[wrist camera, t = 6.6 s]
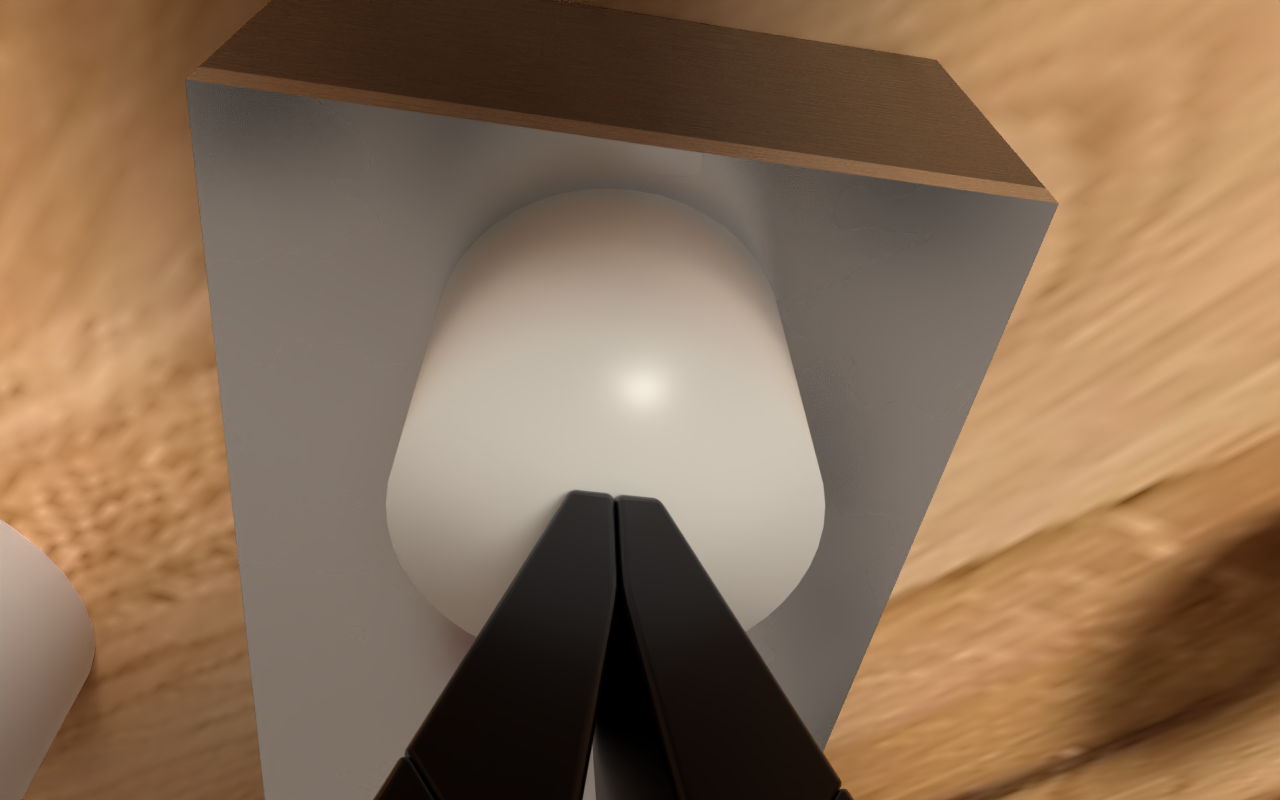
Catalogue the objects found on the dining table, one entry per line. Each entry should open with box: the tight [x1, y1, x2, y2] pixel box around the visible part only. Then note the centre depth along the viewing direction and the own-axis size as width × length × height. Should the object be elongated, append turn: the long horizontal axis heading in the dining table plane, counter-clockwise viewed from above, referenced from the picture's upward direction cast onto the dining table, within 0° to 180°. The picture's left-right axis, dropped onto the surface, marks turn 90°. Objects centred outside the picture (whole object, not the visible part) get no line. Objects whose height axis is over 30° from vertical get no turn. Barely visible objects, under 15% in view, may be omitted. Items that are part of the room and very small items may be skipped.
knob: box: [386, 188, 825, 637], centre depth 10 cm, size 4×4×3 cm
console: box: [185, 0, 1059, 800], centre depth 18 cm, size 21×9×5 cm, turn 171°
